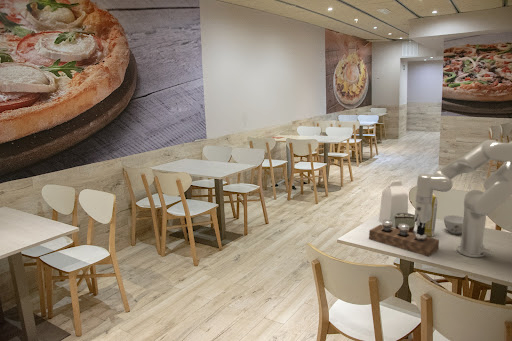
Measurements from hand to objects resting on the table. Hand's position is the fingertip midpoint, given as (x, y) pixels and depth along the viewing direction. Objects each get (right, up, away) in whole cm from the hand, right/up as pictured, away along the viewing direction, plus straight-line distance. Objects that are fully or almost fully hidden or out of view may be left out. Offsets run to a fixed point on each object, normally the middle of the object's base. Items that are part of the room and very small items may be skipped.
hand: (420, 234), depth 203 cm
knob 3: (0, -6, +1) cm, 7 cm away
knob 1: (-13, -1, +13) cm, 18 cm away
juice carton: (+11, -3, +21) cm, 24 cm away
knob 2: (-6, -3, +7) cm, 10 cm away
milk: (-1, 0, +38) cm, 38 cm away
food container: (+1, -2, +26) cm, 26 cm away
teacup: (+30, -3, +23) cm, 37 cm away
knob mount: (-6, -6, +8) cm, 12 cm away
